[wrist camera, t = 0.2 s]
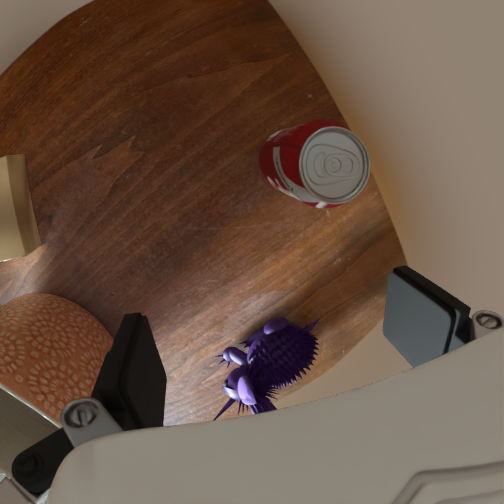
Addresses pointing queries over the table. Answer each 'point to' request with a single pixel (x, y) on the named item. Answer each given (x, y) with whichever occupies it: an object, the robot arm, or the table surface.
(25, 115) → the table surface
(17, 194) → the oak block
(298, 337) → the creature
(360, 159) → the soda can
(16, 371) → the planter
